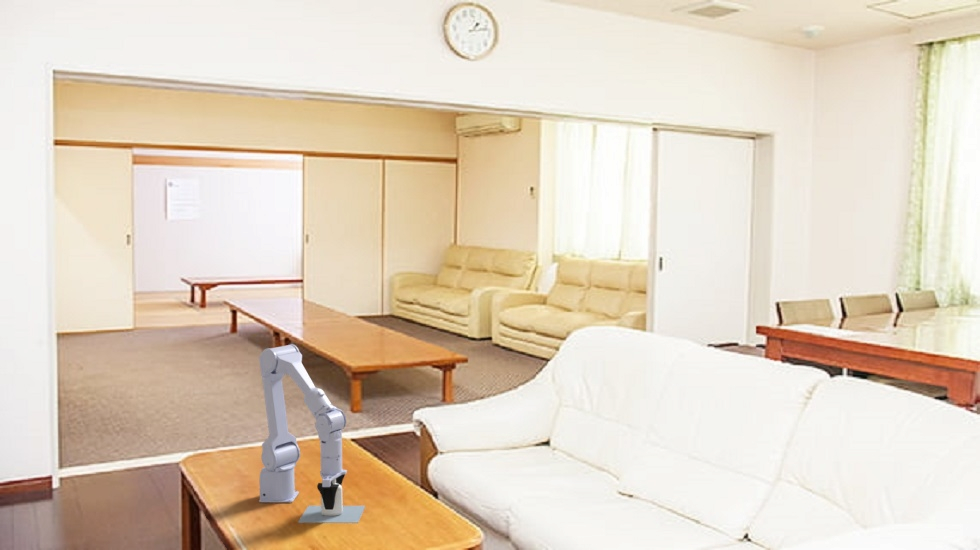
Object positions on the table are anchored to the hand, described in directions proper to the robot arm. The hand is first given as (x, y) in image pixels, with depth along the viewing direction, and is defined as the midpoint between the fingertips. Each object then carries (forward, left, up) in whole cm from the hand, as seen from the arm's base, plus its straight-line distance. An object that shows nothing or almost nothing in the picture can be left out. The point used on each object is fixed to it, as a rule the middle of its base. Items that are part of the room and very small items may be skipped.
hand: (332, 503), depth 221 cm
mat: (0, 0, -3) cm, 3 cm away
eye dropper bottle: (0, 0, -3) cm, 3 cm away
